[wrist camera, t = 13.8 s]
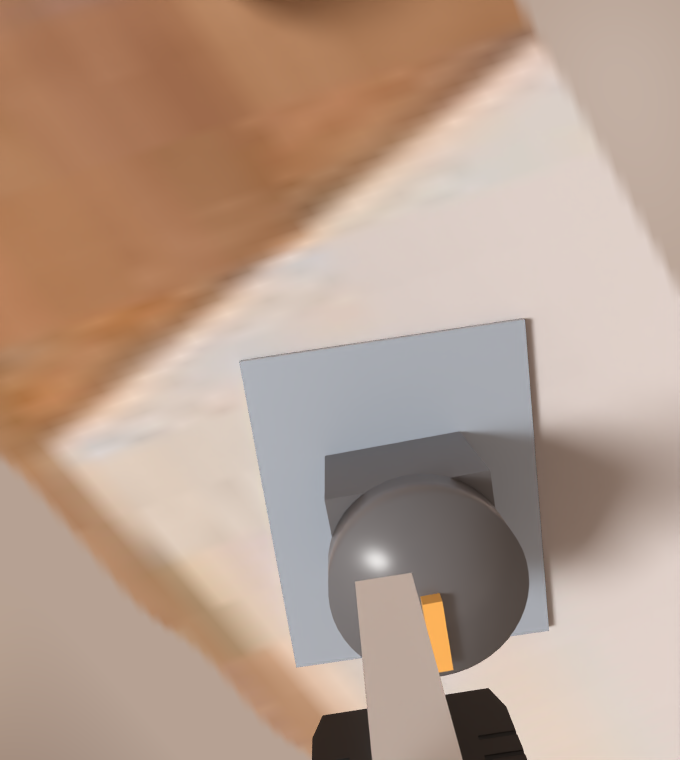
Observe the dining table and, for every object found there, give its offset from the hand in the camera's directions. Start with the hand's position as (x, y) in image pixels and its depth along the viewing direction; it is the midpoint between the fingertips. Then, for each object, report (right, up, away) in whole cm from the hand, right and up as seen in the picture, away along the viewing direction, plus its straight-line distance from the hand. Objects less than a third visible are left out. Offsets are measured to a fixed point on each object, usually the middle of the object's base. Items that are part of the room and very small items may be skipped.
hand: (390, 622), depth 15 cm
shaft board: (+2, 0, +12) cm, 13 cm away
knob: (+2, 0, +12) cm, 12 cm away
